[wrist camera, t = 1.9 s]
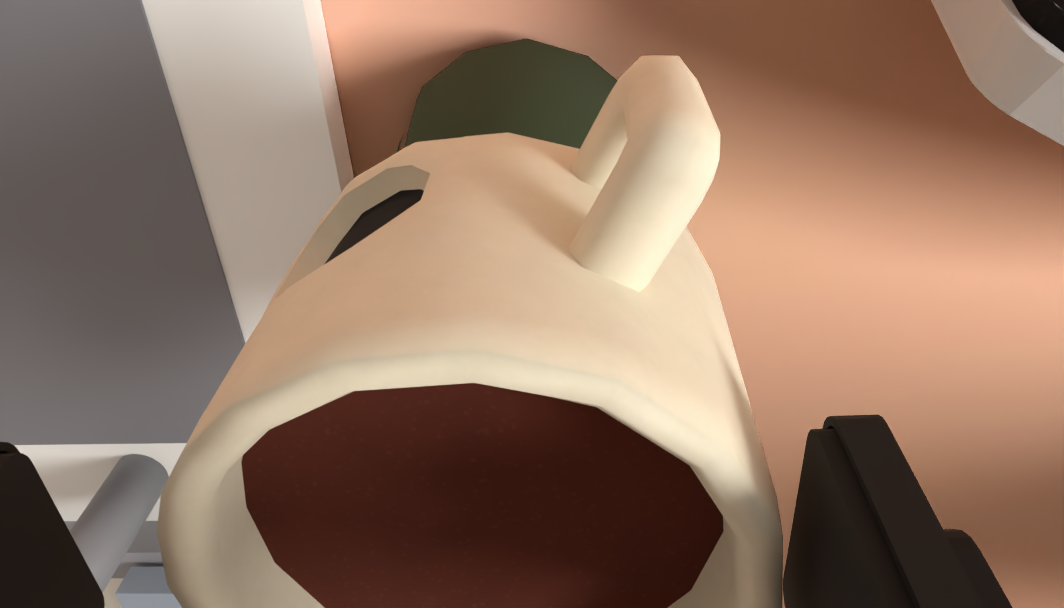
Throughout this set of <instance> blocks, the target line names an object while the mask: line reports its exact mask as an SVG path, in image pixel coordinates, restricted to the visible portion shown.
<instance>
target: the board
mask: <svg viewBox="0 0 1064 608" xmlns="http://www.w3.org/2000/svg"><path fill="white" fill-rule="evenodd" d="M353 179H354V176H353V170H352V165H351V160H350V154H349V149H348V144H347V139H346V133H345V128H344V123H343V117H342V112H341V107H340V102H339V96H338V91H337V86H336V80H335V75H334V70H333V65H332V59H331V54H330V49H329V44H328V38H327V33H326V28H325V22H324V17H323V12H322V7H321V1H320V0H0V442H9V443H11V444H12V445H14V446H15V447H16V448H17V449H18V450H19V452H20V453H23V454H25V455H27V456H28V457H29V458H30V460H31V461H32V463H33V465H34V466H35V468H36V470H37V472H38V474H39V476H40V478H41V479H42V481H43V483H44V485H45V487H46V489H47V491H48V492H49V494H50V496H51V498H52V500H53V502H54V504H55V505H56V507H57V509H58V511H59V513H60V515H61V516H62V518H63V520H64V522H65V524H66V526H67V528H68V529H69V531H70V533H71V535H72V537H73V539H74V541H75V542H76V544H77V546H78V548H79V550H80V552H81V554H82V555H83V557H84V559H85V561H86V563H87V565H88V567H89V568H90V570H91V572H92V574H93V576H94V578H95V580H96V581H97V583H98V585H99V587H100V589H101V591H102V593H103V596H104V603H105V605H104V608H122V606H121V605H120V603H119V601H118V599H117V597H116V595H115V592H116V591H117V589H118V587H119V586H120V584H121V582H122V580H123V579H124V577H125V575H126V574H127V572H128V570H129V568H130V567H164V566H163V561H162V556H161V551H160V546H159V541H158V536H157V525H158V516H159V507H160V498H161V491H162V490H163V488H164V486H165V484H166V482H167V480H168V478H169V476H170V474H171V472H172V470H173V468H174V466H175V464H176V463H177V461H178V459H179V457H180V455H181V453H182V451H183V449H184V447H185V445H186V444H187V442H188V440H189V438H190V436H191V434H192V432H193V431H194V429H195V427H196V425H197V423H198V421H199V419H200V418H201V416H202V414H203V413H204V411H205V409H206V408H207V406H208V404H209V403H210V401H211V400H212V398H213V396H214V395H215V393H216V391H217V390H218V388H219V386H220V385H221V383H222V381H223V380H224V378H225V376H226V375H227V373H228V371H229V370H230V368H231V366H232V365H233V363H234V362H235V360H236V358H237V357H238V355H239V353H240V352H241V350H242V348H243V347H244V345H245V344H246V342H247V340H248V339H249V337H250V335H251V334H252V332H253V331H254V329H255V327H256V326H257V324H258V323H259V321H260V320H261V318H262V316H263V314H264V312H265V310H266V308H267V306H268V304H269V303H270V301H271V299H272V297H273V295H274V294H275V292H276V290H277V288H278V287H279V285H280V283H281V281H282V280H283V278H284V276H285V274H286V273H287V271H288V269H289V267H290V266H291V265H292V263H293V262H294V260H295V259H296V257H297V256H298V254H299V253H300V252H301V250H302V249H303V247H304V246H305V244H306V243H307V241H308V240H309V238H310V237H311V236H312V234H313V232H314V230H315V228H316V226H317V224H318V223H319V221H320V220H321V219H322V217H323V216H324V215H325V213H326V212H327V211H328V210H329V209H330V207H331V206H332V205H333V203H334V202H335V201H336V199H337V198H338V197H339V195H340V194H341V192H342V191H343V189H344V188H345V186H346V185H347V184H348V183H349V182H350V181H351V180H353Z"/></svg>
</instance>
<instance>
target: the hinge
mask: <svg viewBox="0 0 1064 608" xmlns="http://www.w3.org/2000/svg"><path fill="white" fill-rule="evenodd" d="M931 2H932V4H933V6H934V8H935V10H936V12H937V14H938V16H939V18H940V20H941V22H942V24H943V27H944V29H945V31H946V33H947V35H948V37H949V39H950V41H951V43H952V45H953V47H954V49H955V51H956V53H957V55H958V57H959V60H960V62H961V64H962V66H963V68H964V70H965V72H966V74H967V76H968V77H969V79H970V80H971V82H972V83H973V85H974V86H975V87H976V88H977V89H978V90H979V91H980V92H981V93H982V94H983V95H984V96H985V97H986V98H987V99H988V100H989V101H990V102H991V103H992V104H994V105H995V106H996V107H997V108H999V109H1000V110H1002V111H1003V112H1005V113H1006V114H1008V115H1009V116H1011V117H1013V118H1015V119H1016V120H1018V121H1020V122H1022V123H1023V124H1025V125H1027V126H1029V127H1031V128H1032V129H1034V130H1036V131H1038V132H1039V133H1041V134H1043V135H1045V136H1047V137H1048V138H1050V139H1052V140H1054V141H1056V142H1057V143H1059V144H1061V145H1063V146H1064V0H931Z"/></svg>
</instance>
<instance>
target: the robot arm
mask: <svg viewBox="0 0 1064 608" xmlns="http://www.w3.org/2000/svg"><path fill="white" fill-rule="evenodd" d="M783 594H784V602H785V608H1012V606H1011V604H1010V603H1009V601H1008V599H1007V597H1006V595H1005V594H1004V592H1003V590H1002V588H1001V587H1000V585H999V583H998V581H997V579H996V578H995V576H994V574H993V572H992V571H991V569H990V567H989V565H988V563H987V562H986V560H985V558H984V556H983V555H982V553H981V551H980V549H979V548H978V547H977V545H976V544H975V542H974V541H973V540H972V538H971V537H970V536H968V535H967V534H966V533H965V532H963V531H962V530H955V529H945V530H943V529H942V527H941V525H940V523H939V521H938V519H937V517H936V515H935V514H934V512H933V510H932V508H931V506H930V504H929V502H928V500H927V498H926V496H925V495H924V493H923V491H922V489H921V487H920V485H919V483H918V481H917V479H916V478H915V476H914V474H913V472H912V470H911V468H910V466H909V464H908V462H907V461H906V459H905V457H904V455H903V453H902V451H901V449H900V447H899V445H898V444H897V442H896V440H895V438H894V436H893V434H892V432H891V430H890V428H889V427H888V425H887V423H886V422H885V420H884V419H883V417H881V416H879V415H854V416H830V417H827V418H826V420H825V421H824V425H823V429H812V430H810V432H809V433H808V437H807V442H806V448H805V454H804V460H803V466H802V471H801V477H800V483H799V489H798V495H797V501H796V507H795V513H794V519H793V525H792V531H791V536H790V542H789V548H788V554H787V560H786V566H785V572H784V578H783ZM104 605H105V603H104V596H103V593H102V591H101V589H100V587H99V585H98V583H97V581H96V580H95V578H94V576H93V574H92V572H91V570H90V568H89V567H88V565H87V563H86V561H85V559H84V557H83V555H82V554H81V552H80V550H79V548H78V546H77V544H76V542H75V541H74V539H73V537H72V535H71V533H70V531H69V529H68V528H67V526H66V524H65V522H64V520H63V518H62V516H61V515H60V513H59V511H58V509H57V507H56V505H55V504H54V502H53V500H52V498H51V496H50V494H49V492H48V491H47V489H46V487H45V485H44V483H43V481H42V479H41V478H40V476H39V474H38V472H37V470H36V468H35V466H34V465H33V463H32V461H31V460H30V458H29V457H28V456H27V455H25V454H23V453H20V452H19V450H18V449H17V448H16V447H15V446H14V445H12V444H11V443H9V442H0V608H104Z"/></svg>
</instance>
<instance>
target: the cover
mask: <svg viewBox="0 0 1064 608" xmlns="http://www.w3.org/2000/svg"><path fill="white" fill-rule="evenodd" d="M115 595H116V597H117V599H118V601H119V603H120V605H121V606H122V608H182V607H181V605H180V604H179V602H178V601H177V599H176V598H175V596H174V595H173V593H172V592H171V590H170V589H169V587H168V586H167V581H166V576H165V571H164V567H130V568H129V570H128V572H127V574H126V575H125V577H124V579H123V580H122V582H121V584H120V586H119V587H118V589H117V591H116V592H115Z"/></svg>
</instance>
